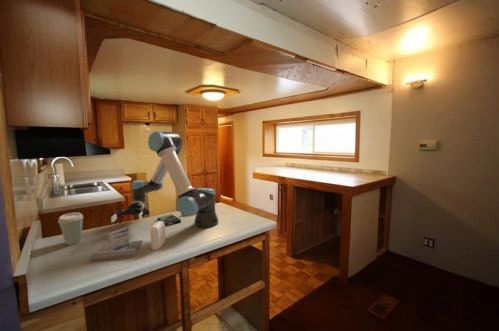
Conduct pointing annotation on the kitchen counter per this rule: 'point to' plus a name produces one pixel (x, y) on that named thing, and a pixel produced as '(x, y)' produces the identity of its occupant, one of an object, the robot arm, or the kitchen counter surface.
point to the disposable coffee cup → (71, 227)
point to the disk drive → (169, 220)
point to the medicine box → (118, 239)
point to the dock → (116, 251)
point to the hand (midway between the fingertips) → (125, 218)
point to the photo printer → (157, 235)
